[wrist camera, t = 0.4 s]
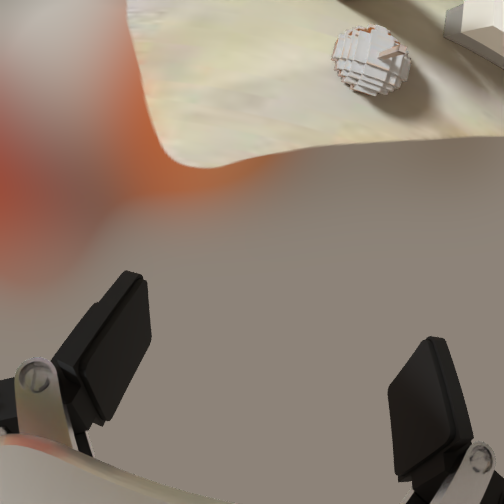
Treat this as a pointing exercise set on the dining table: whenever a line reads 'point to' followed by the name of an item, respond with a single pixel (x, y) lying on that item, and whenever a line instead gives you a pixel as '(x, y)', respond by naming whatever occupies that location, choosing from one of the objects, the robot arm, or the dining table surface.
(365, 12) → the dining table surface
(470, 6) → the cabinet
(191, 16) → the dining table surface
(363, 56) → the decorative ornament
